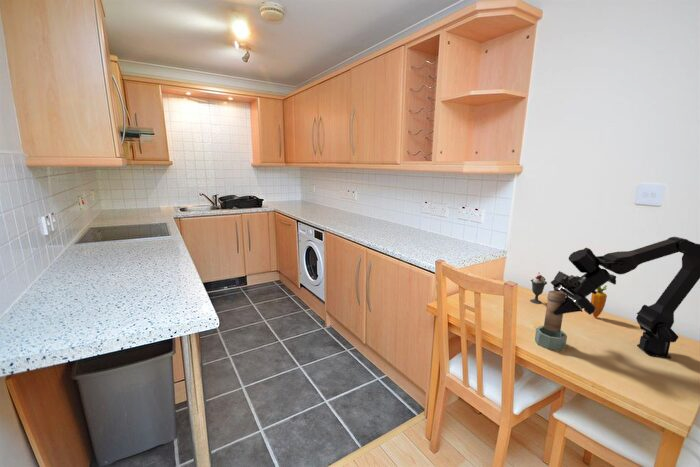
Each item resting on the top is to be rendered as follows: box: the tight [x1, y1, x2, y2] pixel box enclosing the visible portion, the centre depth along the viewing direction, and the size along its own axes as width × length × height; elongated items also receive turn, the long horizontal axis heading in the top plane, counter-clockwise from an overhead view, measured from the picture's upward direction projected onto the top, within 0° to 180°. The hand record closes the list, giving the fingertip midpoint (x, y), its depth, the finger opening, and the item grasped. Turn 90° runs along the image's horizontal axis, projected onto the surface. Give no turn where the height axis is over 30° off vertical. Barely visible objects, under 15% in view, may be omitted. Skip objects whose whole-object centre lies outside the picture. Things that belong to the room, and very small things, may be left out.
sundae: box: [529, 273, 548, 305], centre depth 147 cm, size 7×7×15 cm
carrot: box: [590, 284, 608, 319], centre depth 131 cm, size 5×5×15 cm
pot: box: [534, 325, 568, 352], centre depth 112 cm, size 9×9×4 cm
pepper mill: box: [543, 290, 566, 332], centre depth 110 cm, size 5×5×13 cm
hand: (550, 310), depth 110 cm, fingers closed on pepper mill, 5 cm apart
